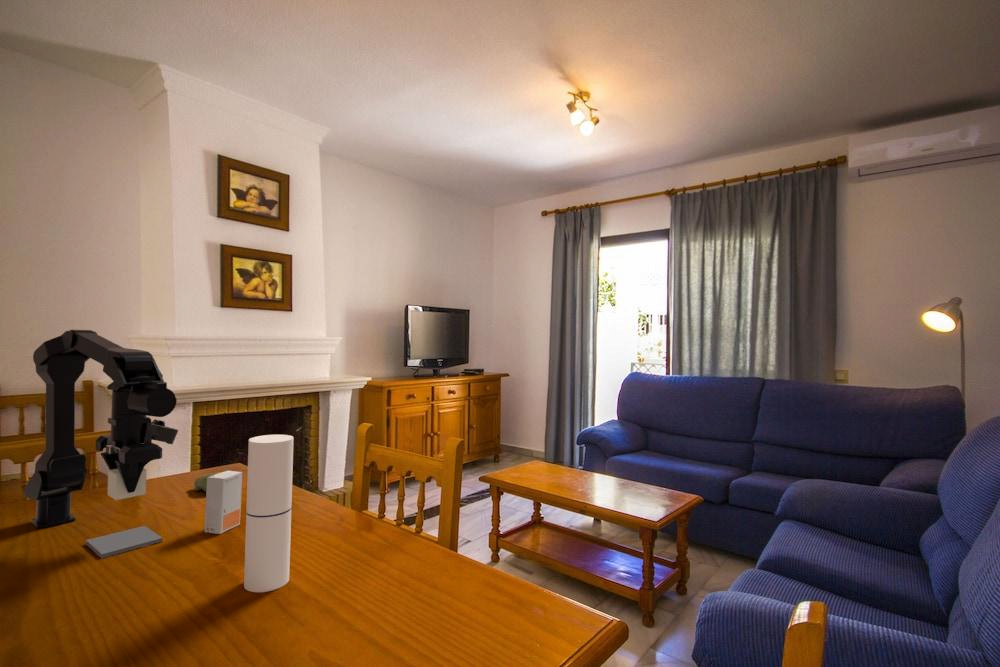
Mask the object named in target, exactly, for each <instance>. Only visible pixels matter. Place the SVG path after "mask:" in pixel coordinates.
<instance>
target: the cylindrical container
mask: <svg viewBox="0 0 1000 667" xmlns="http://www.w3.org/2000/svg"><path fill="white" fill-rule="evenodd" d="M294 441H295V440H294V436H293V435H290V434H289V435H288V434H266V435H265V434H264V435H258V436H254V437H250V438H249V439H248V446H247V447H248V448H247V449H248V451H247V452H248V453H247V454H248V455H247V478H246V480H247V485H246V486H247V487H246V512H245V513H246V517H245V544H244V546H245V548H244V574H243V575H244V577H243V587H244V589H245V590H246V591H248V592H250V593H251V592H252V593H266V592H271V591H275V590H277V589H280V588H282V587H284V586H285V585H286V584H288V582H289V581H290V567H291V566H290V562H291V560H290V559H291V538H292V537H291V535H292V534H291V531H292V530H291V527H292V506H293V505H292V502H293V501H292V500H293V497H292V496H293V471H294V470H293V466H294Z"/></svg>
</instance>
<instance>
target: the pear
mask: <svg viewBox="0 0 1000 667" xmlns="http://www.w3.org/2000/svg"><path fill="white" fill-rule="evenodd" d="M218 473H219V472H212V473H207V474H203V475H200V476H199V477H197V478H196V479H195V481H194V482H193V483H194V484H193V486H194V491H195V492H199V491H202V490H203V491H204V492H206V489H207V477H210V476H213V475H215V474H218ZM201 489H202V490H201Z"/></svg>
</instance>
